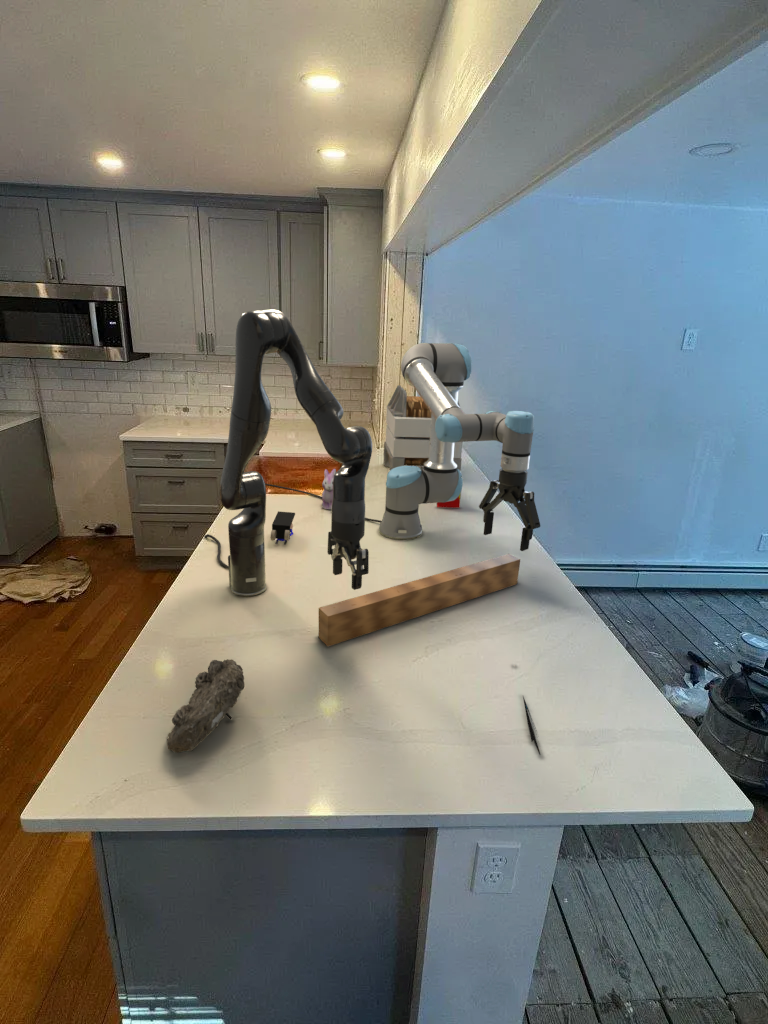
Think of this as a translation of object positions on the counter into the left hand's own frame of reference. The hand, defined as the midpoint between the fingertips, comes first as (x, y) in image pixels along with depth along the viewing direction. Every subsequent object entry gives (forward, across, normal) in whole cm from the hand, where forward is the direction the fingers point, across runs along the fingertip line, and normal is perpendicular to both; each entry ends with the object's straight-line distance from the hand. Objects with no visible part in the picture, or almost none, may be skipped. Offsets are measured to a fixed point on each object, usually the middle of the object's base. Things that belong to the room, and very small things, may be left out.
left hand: (346, 581), depth 132 cm
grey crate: (+14, -105, +105) cm, 149 cm away
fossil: (+14, +12, -37) cm, 41 cm away
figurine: (+14, -83, +43) cm, 94 cm away
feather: (+14, +42, +17) cm, 47 cm away
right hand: (+1, 0, +52) cm, 52 cm away
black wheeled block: (+14, -61, +12) cm, 64 cm away
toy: (+14, -70, +91) cm, 116 cm away
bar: (+14, 0, +26) cm, 29 cm away
